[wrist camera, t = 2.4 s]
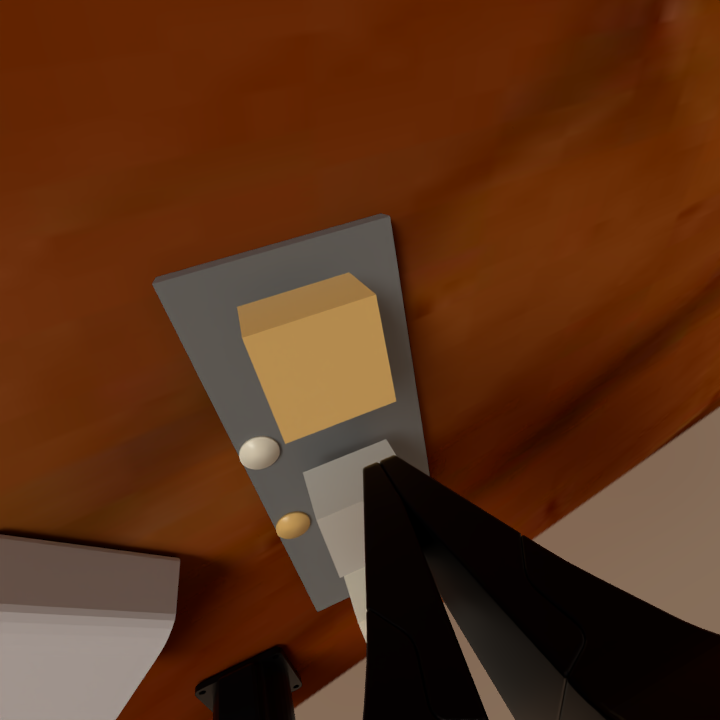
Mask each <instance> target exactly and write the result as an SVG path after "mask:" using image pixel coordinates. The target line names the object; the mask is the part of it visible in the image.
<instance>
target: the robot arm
mask: <svg viewBox="0 0 720 720" xmlns="http://www.w3.org/2000/svg"><path fill="white" fill-rule="evenodd" d="M363 503H364V541H365V580H366V609H367V612H366V627H367V665H366V682H365V698H364V712H363V720H489V719H488V717H487V714H486V712H485V709H484V707H483V704H482V702H481V699H480V696H479V694H478V691H477V689H476V686H475V684H474V681H473V678H472V677H471V673H470V671H469V668H468V666H467V663H466V661H465V658H464V656H463V653H462V650H461V648H460V645H459V643H458V640H457V638H456V635H455V632H454V630H453V628H452V625H451V622H450V620H449V617H448V615H447V612H446V610H445V607H444V604H443V602H442V599H443V600H444V602H445V604H446V605H447V607H448V609H449V610H450V612H451V614H452V615H453V617H454V619H455V620H456V622H457V624H458V625H459V627H460V629H461V630H462V632H463V634H464V635H465V637H466V638H467V640H468V642H469V643H470V645H471V647H472V648H473V650H474V652H475V653H476V655H477V657H478V659H479V660H480V662H481V664H482V665H483V667H484V669H485V670H486V672H487V674H488V675H489V677H490V679H491V680H492V682H493V684H494V685H495V687H496V688H497V690H498V692H499V694H500V695H501V697H502V698H503V700H504V702H505V703H506V705H507V707H508V708H509V710H510V712H511V713H512V715H513V717H514V718H515V720H720V635H719V634H716V633H713V632H711V631H708V630H705V629H702V628H699V627H697V626H695V625H692V624H690V623H688V622H685V621H683V620H681V619H679V618H677V617H675V616H673V615H671V614H669V613H667V612H665V611H663V610H661V609H659V608H657V607H655V606H653V605H651V604H649V603H647V602H645V601H643V600H641V599H639V598H637V597H635V596H633V595H631V594H629V593H627V592H625V591H623V590H621V589H619V588H617V587H615V586H613V585H611V584H609V583H607V582H605V581H603V580H601V579H599V578H597V577H595V576H594V575H592V574H590V573H588V572H586V571H584V570H582V569H580V568H579V567H577V566H574V565H573V564H571V563H569V562H567V561H565V560H564V559H562V558H560V557H559V556H557V555H555V554H554V553H552V552H550V551H549V550H547V549H545V548H543V547H542V546H540V545H539V544H537V543H535V542H534V541H532V540H531V539H529V538H528V537H526V536H524V535H522V536H521V534H520V533H519V532H518V531H516V530H514V529H513V528H511V527H510V526H508V525H506V524H505V523H503V522H502V521H500V520H499V519H497V518H495V517H494V516H492V515H491V514H489V513H487V512H486V511H484V510H483V509H481V508H479V507H478V506H476V505H475V504H473V503H471V502H470V501H468V500H467V499H465V498H463V497H462V496H460V495H459V494H457V493H455V492H454V491H452V490H451V489H449V488H447V487H446V486H444V485H443V484H441V483H439V482H438V481H436V480H435V479H433V478H431V477H430V476H428V475H427V474H425V473H423V472H422V471H420V470H419V469H417V468H415V467H414V466H412V465H411V464H409V463H407V462H406V461H404V460H403V459H401V458H399V457H398V456H396V455H392V456H390V457H388V458H385V459H383V460H381V461H380V463H378V462H375V463H373V464H371V465H368V466H366V467H364V468H363ZM440 596H441V597H442V599H441V597H440ZM301 686H302V681H301V678H300V676H299V675H298V673H297V671H296V670H295V668H294V667H293V665H292V664H291V662H290V661H289V659H288V658H287V656H286V655H285V653H284V652H283V650H282V649H281V648H280V647H275V648H273V649H270V650H268V651H266V652H264V653H262V654H260V655H258V656H256V657H254V658H252V659H250V660H248V661H246V662H244V663H241V664H239V665H237V666H235V667H233V668H231V669H229V670H227V671H225V672H223V673H221V674H219V675H217V676H214V677H212V678H210V679H208V680H206V681H204V682H202V683H200V684H198V685H197V686H196V687H195V696H196V697H197V698H198V699H199V700H200V701H201V702H202V703H203V704H205V705H206V706H207V707H208V708H209V709H210V710H211V711H212V712H213V720H295V714H294V707H293V700H292V693H291V692H293V691H295V690H297V689H299V688H300V687H301Z"/></svg>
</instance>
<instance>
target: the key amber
mask: <svg viewBox="0 0 720 720" xmlns="http://www.w3.org/2000/svg"><path fill="white" fill-rule="evenodd" d="M237 310H238V316H239V322H240V329H241V335H242V339H243V342H244V344H245V347H246V349H247V351H248V354H249V356H250V359H251V361H252V364H253V366H254V369H255V371H256V374H257V376H258V378H259V381H260V383H261V386H262V388H263V391H264V393H265V396H266V398H267V400H268V403H269V405H270V408H271V410H272V413H273V415H274V418H275V420H276V423H277V425H278V427H279V430H280V432H281V435H282V437H283V440H284V442H285V444H287V443H289V442H292V441H294V440H297V439H300V438H302V437H305V436H307V435H310V434H313V433H315V432H318V431H320V430H323V429H326V428H328V427H331V426H333V425H336V424H339V423H341V422H344V421H346V420H349V419H352V418H354V417H357V416H360V415H362V414H365V413H367V412H370V411H373V410H375V409H378V408H380V407H383V406H386V405H388V404H391V403H393V402H396V397H395V391H394V386H393V381H392V375H391V370H390V365H389V360H388V354H387V349H386V344H385V339H384V333H383V328H382V323H381V318H380V312H379V307H378V302H377V297H376V294H375V293H374V292H372V291H371V290H370V289H369V288H368V287H366V286H365V285H364V284H363V283H361V282H360V281H359V280H358V279H357V278H355V277H354V276H353V275H352V274H351V273H349V272H348V273H345V274H342V275H339V276H335V277H332V278H329V279H326V280H323V281H319V282H316V283H313V284H310V285H306V286H303V287H300V288H297V289H293V290H290V291H287V292H284V293H280V294H277V295H274V296H271V297H267V298H264V299H261V300H258V301H255V302H251V303H248V304H245V305H242V306H238V307H237Z"/></svg>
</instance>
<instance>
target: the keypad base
mask: <svg viewBox="0 0 720 720" xmlns="http://www.w3.org/2000/svg"><path fill="white" fill-rule="evenodd" d="M348 272H349V273H351V274H352V275H353V276H354V277H355V278H357V279H358V280H359V281H360V282H361V283H363V284H364V285H365V286H366V287H368V288H369V289H370V290H371V291H372V292H374V293H375V294H376V297H377V302H378V307H379V312H380V318H381V323H382V328H383V333H384V339H385V344H386V349H387V354H388V360H389V365H390V370H391V375H392V381H393V386H394V391H395V397H396V402H393V403H391V404H388V405H386V406H383V407H380V408H378V409H375V410H373V411H370V412H367V413H365V414H362V415H360V416H357V417H354V418H352V419H349V420H346V421H344V422H341V423H339V424H336V425H333V426H331V427H328V428H326V429H323V430H320V431H318V432H315V433H313V434H310V435H307V436H305V437H302V438H300V439H297V440H294V441H292V442H289V443H287V444H285V442H284V440H283V437H282V435H281V432H280V430H279V427H278V425H277V423H276V420H275V418H274V415H273V413H272V410H271V408H270V405H269V403H268V400H267V398H266V396H265V393H264V391H263V388H262V386H261V383H260V381H259V378H258V376H257V374H256V371H255V369H254V366H253V364H252V361H251V359H250V356H249V354H248V351H247V349H246V347H245V344H244V342H243V339H242V335H241V329H240V322H239V316H238V310H237V307H238V306H242V305H245V304H248V303H251V302H255V301H258V300H261V299H264V298H267V297H271V296H274V295H277V294H280V293H284V292H287V291H290V290H293V289H297V288H300V287H303V286H306V285H310V284H313V283H316V282H319V281H323V280H326V279H329V278H332V277H335V276H339V275H342V274H345V273H348ZM152 285H153V287H154V289H155V291H156V293H157V294H158V296H159V298H160V300H161V302H162V304H163V306H164V308H165V310H166V312H167V314H168V316H169V318H170V320H171V322H172V324H173V326H174V328H175V330H176V332H177V334H178V336H179V338H180V340H181V342H182V344H183V346H184V348H185V350H186V352H187V354H188V356H189V358H190V360H191V362H192V364H193V366H194V368H195V370H196V372H197V374H198V376H199V378H200V380H201V382H202V384H203V386H204V388H205V390H206V392H207V394H208V396H209V398H210V400H211V402H212V404H213V406H214V408H215V410H216V412H217V414H218V416H219V418H220V419H221V421H222V423H223V425H224V427H225V429H226V431H227V433H228V435H229V437H230V439H231V441H232V443H233V445H234V447H235V449H236V451H237V453H238V455H239V458H240V461H241V463H242V464H243V465H244V467H245V469H246V471H247V473H248V475H249V477H250V479H251V481H252V483H253V485H254V487H255V489H256V491H257V493H258V495H259V497H260V499H261V501H262V503H263V505H264V507H265V509H266V511H267V513H268V515H269V517H270V519H271V521H272V523H273V525H274V527H275V529H276V532H277V534H278V536H279V537H280V539H281V541H282V543H283V545H284V546H285V548H286V550H287V552H288V554H289V556H290V558H291V560H292V562H293V564H294V566H295V568H296V570H297V572H298V574H299V576H300V578H301V580H302V582H303V584H304V586H305V588H306V590H307V592H308V594H309V596H310V598H311V600H312V602H313V604H314V606H315V608H316V610H317V612H318V611H321V610H323V609H325V608H327V607H329V606H331V605H333V604H335V603H337V602H340V601H342V600H344V599H346V598H348V597H350V595H349V592H348V588H347V585H346V582H345V579H344V576H343V577H341V578H340V577H339V574H338V572H337V570H336V567H335V565H334V562H333V560H332V557H331V555H330V552H329V550H328V547H327V545H326V543H325V540H324V538H323V535H322V533H321V530H320V528H319V525H318V523H317V521H316V517H315V514H314V510H313V507H312V503H311V500H310V496H309V493H308V489H307V486H306V482H305V479H304V475H303V472H305V471H308V470H310V469H313V468H315V467H318V466H320V465H323V464H325V463H328V462H330V461H333V460H335V459H338V458H340V457H343V456H345V455H348V454H350V453H353V452H355V451H358V450H360V449H363V448H365V447H368V446H370V445H373V444H375V443H378V442H380V441H383V440H385V439H386V440H387V441H388V443H389V445H390V446H391V448H392V449H393V451H394V453H395V454H396V456H398V457H399V458H401V459H403V460H404V461H406V462H407V463H409V464H411V465H412V466H414V467H415V468H417V469H419V470H420V471H422V472H423V473H425V474H427V475H428V476H430V474H429V468H428V461H427V455H426V448H425V442H424V435H423V429H422V422H421V415H420V409H419V402H418V396H417V389H416V383H415V376H414V370H413V363H412V357H411V350H410V344H409V337H408V331H407V324H406V318H405V311H404V304H403V298H402V291H401V285H400V278H399V272H398V265H397V259H396V252H395V246H394V239H393V233H392V226H391V220H390V216H388V215H385V214H382V213H381V214H378V215H374V216H371V217H367V218H364V219H360V220H357V221H353V222H350V223H346V224H342V225H339V226H335V227H332V228H328V229H325V230H321V231H318V232H314V233H311V234H307V235H304V236H300V237H297V238H293V239H290V240H286V241H282V242H279V243H275V244H272V245H268V246H265V247H261V248H258V249H254V250H251V251H247V252H244V253H240V254H237V255H233V256H230V257H226V258H222V259H219V260H215V261H212V262H208V263H205V264H201V265H198V266H194V267H191V268H187V269H184V270H180V271H177V272H173V273H170V274H166V275H162V276H159V277H156V278H155V280H154V282H153V284H152Z"/></svg>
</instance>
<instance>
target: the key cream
mask: <svg viewBox="0 0 720 720" xmlns="http://www.w3.org/2000/svg"><path fill="white" fill-rule="evenodd" d="M344 579H345V582H346V585H347V588H348V592H349V595H350V598H351V601H352V604H353V608H354V611H355V614H356V617H357V620H358V623H359V626H360V628H361V631H362V633H363V636H364V638H365V641H366V643H367V627H366V612H367V609H366V580H365V567H363V568H361V569H359V570H356V571H354V572H352V573H350V574H348V575H346V576H344Z"/></svg>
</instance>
